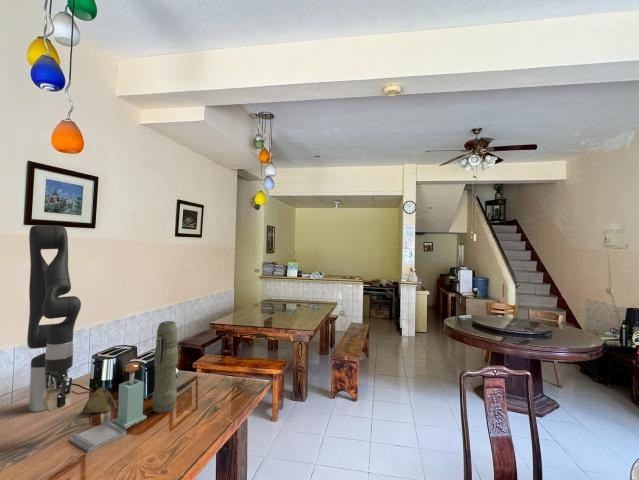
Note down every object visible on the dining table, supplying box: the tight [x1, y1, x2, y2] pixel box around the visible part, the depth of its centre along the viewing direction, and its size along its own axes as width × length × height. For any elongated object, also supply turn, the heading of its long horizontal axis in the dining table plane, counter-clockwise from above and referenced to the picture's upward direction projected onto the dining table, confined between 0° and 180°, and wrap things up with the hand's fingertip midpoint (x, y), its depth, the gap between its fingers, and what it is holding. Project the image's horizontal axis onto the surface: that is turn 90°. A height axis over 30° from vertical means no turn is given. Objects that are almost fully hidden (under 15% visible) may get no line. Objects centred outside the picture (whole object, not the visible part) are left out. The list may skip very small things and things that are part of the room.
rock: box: [82, 387, 118, 414], centre depth 130 cm, size 11×9×10 cm
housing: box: [43, 385, 72, 413], centre depth 111 cm, size 5×6×7 cm
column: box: [112, 378, 147, 429], centre depth 123 cm, size 8×8×14 cm
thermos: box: [151, 320, 179, 414], centre depth 134 cm, size 9×12×35 cm
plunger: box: [125, 362, 140, 386], centre depth 123 cm, size 4×4×13 cm
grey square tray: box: [69, 419, 127, 453], centre depth 111 cm, size 12×12×2 cm
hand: (57, 404), depth 111 cm, fingers closed on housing, 5 cm apart
